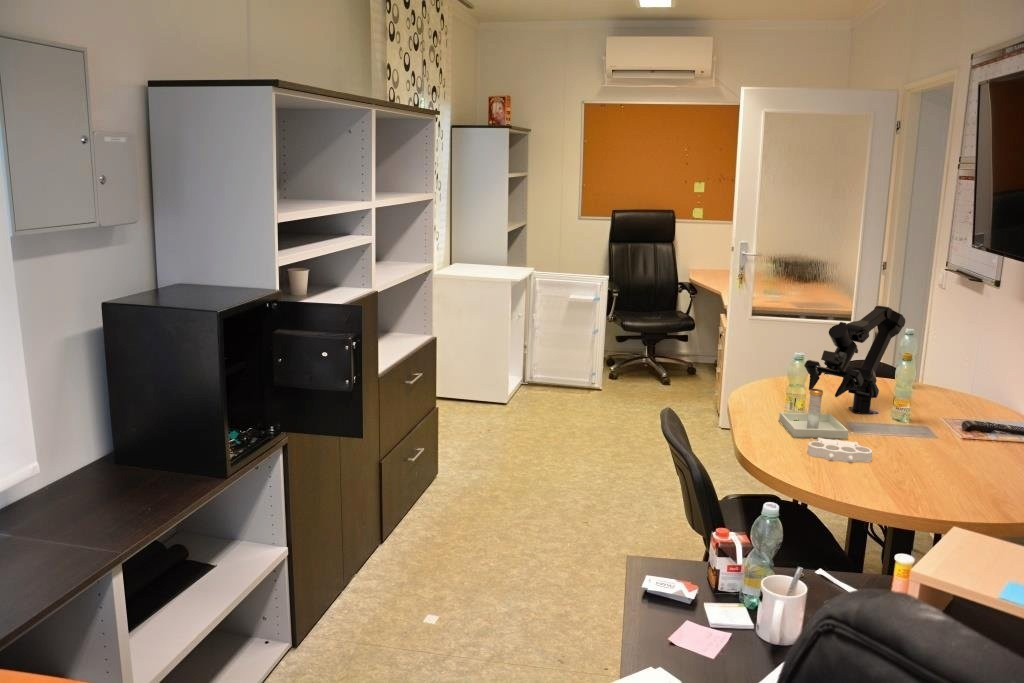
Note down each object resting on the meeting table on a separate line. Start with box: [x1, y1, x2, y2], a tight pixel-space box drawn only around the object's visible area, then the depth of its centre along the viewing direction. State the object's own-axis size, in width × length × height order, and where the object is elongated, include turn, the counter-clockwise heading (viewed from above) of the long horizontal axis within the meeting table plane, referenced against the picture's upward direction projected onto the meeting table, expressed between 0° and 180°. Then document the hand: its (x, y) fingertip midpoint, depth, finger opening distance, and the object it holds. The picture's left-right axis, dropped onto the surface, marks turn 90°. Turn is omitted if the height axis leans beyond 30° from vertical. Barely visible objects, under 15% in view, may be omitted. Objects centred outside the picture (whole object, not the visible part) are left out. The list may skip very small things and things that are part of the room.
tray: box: [778, 411, 850, 440], centre depth 267 cm, size 17×17×3 cm
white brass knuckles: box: [806, 438, 873, 464], centre depth 245 cm, size 3×18×15 cm
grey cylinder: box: [807, 388, 824, 429], centre depth 266 cm, size 4×4×13 cm
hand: (822, 393), depth 267 cm, fingers open, 9 cm apart
